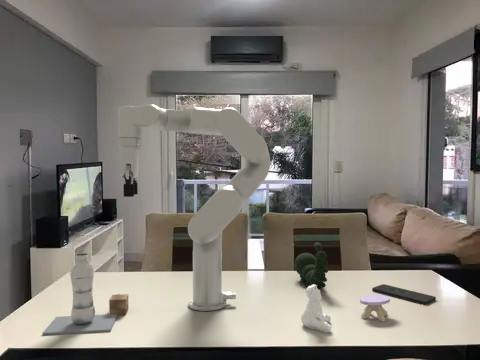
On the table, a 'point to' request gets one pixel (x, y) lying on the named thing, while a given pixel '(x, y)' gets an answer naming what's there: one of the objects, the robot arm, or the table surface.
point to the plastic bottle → (82, 290)
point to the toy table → (374, 306)
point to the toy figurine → (312, 267)
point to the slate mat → (81, 325)
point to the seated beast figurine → (315, 311)
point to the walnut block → (118, 304)
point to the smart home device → (404, 294)
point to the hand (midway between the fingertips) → (130, 195)
